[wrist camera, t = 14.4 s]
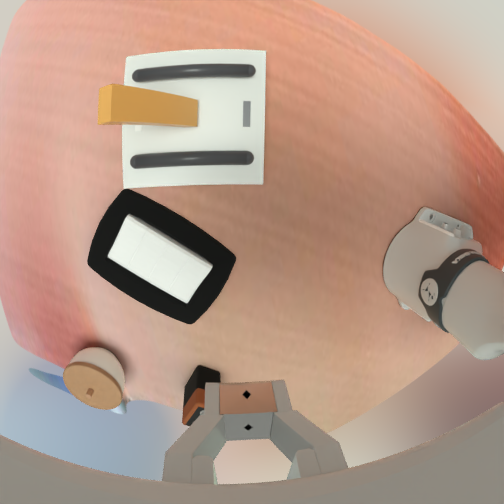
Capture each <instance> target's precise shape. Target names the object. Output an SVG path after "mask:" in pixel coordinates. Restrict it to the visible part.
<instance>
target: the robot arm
mask: <svg viewBox="0 0 504 504" xmlns="http://www.w3.org/2000/svg"><path fill="white" fill-rule="evenodd" d="M383 276H384V281H385V284H386V287H387V288H388V290H389V291H390V292H391V293H392V294H393V295H395V296H396V297H397V298H398V301H399V304H400V306H401V307H402V308H403V309H405V310H408V309H411V310H413V311H414V312H415V313H417V314H418V315H419V316H421V317H422V318H424V319H425V320H426V321H429V322H430V321H433V322H434V324H435V325H436V326H437V327H439V328H440V329H442V330H443V331H445V332H447V333H450V334H452V335H453V336H454V337H455V338H456V339H457V340H458V341H459V342H460V343H461V344H462V345H463V346H464V347H465V348H466V349H467V350H468V351H469V352H470V353H471V354H472V355H473V356H474V357H475V358H477V359H480V360H489V359H493V358H496V357H498V356H500V355H502V354H503V353H504V272H503V271H501V270H499V269H497V268H495V267H494V266H492V265H490V264H489V262H488V261H487V260H486V259H485V257H484V256H483V255H482V246H481V244H480V243H479V242H478V241H476V240H474V239H473V231H472V227H471V226H470V225H469V224H467V223H465V222H462V221H460V220H458V219H455V218H453V217H450V216H448V215H446V214H443V213H441V212H438V211H436V210H433V209H431V208H428V207H423V208H421V209H420V211H419V212H418V214H417V215H416V217H415V218H414V220H413V221H412V222H411V223H409V224H408V225H407V226H405V227H404V228H403V229H402V230H401V231H400V232H399V233H398V234H397V235H396V237H395V238H394V239H393V241H392V243H391V244H390V246H389V248H388V251H387V253H386V256H385V260H384V267H383ZM248 439H270V440H271V441H272V442H273V443H274V444H275V445H276V446H277V448H278V449H279V450H280V451H281V452H282V453H283V454H284V455H285V456H286V457H287V458H288V459H289V460H290V461H291V462H292V465H291V468H290V471H289V474H288V477H287V480H282V481H274V482H262V483H248V484H217V478H216V473H215V467H214V462H213V461H214V459H215V458H216V456H217V455H218V453H219V452H220V450H221V449H222V447H223V446H224V444H225V443H226V441H229V440H248ZM0 504H504V402H501V403H499V404H497V405H495V406H494V407H492V408H491V409H489V410H487V411H486V412H484V413H482V414H481V415H479V416H477V417H475V418H474V419H472V420H470V421H469V422H467V423H465V424H463V425H461V426H459V427H457V428H455V429H453V430H451V431H449V432H447V433H445V434H443V435H441V436H439V437H436V438H434V439H432V440H430V441H427V442H425V443H423V444H420V445H418V446H416V447H413V448H411V449H408V450H405V451H403V452H400V453H397V454H394V455H392V456H389V457H386V458H382V459H379V460H377V461H373V462H370V463H367V464H363V465H359V466H355V467H351V468H348V466H347V463H346V461H345V458H344V456H343V452H342V450H341V447H340V444H339V442H338V441H336V440H335V439H333V438H332V437H330V436H329V435H328V434H327V433H325V432H324V431H323V430H321V429H320V428H319V427H317V426H316V425H315V424H313V423H312V422H311V421H309V420H308V419H307V418H306V417H304V416H303V415H302V414H300V413H299V412H298V411H297V410H294V411H293V410H292V406H291V403H290V399H289V395H288V391H287V387H286V384H285V381H284V380H274V381H259V382H245V383H206V385H205V407H204V415H200V416H199V417H198V418H197V419H196V420H195V421H194V423H193V424H192V425H191V426H190V427H189V428H188V429H187V430H186V431H185V433H183V434H182V436H181V437H180V438H179V439H178V440H177V441H176V442H175V443H174V444H173V445H172V446H171V447H170V448H169V449H168V450H167V451H166V453H165V460H164V469H163V479H162V481H155V480H147V479H140V478H134V477H128V476H123V475H118V474H113V473H108V472H103V471H99V470H95V469H91V468H87V467H84V466H80V465H77V464H73V463H70V462H67V461H64V460H60V459H57V458H55V457H52V456H49V455H46V454H43V453H41V452H38V451H36V450H33V449H30V448H28V447H26V446H23V445H21V444H19V443H17V442H15V441H12V440H10V439H8V438H6V437H4V436H2V435H0Z"/></svg>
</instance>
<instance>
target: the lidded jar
mask: <svg viewBox="0 0 504 504" xmlns="http://www.w3.org/2000/svg"><path fill="white" fill-rule="evenodd" d="M63 379H64V383H65V385H66V387H67V388H68V390H69V391H70V392H71V393H72V394H73V395H74V396H75V397H76V398H77V399H79V400H80V401H81V402H83V403H85V404H87V405H89V406H91V407H94V408H98V409H105V410H108V409H113V408H116V407H117V406H119V405H120V403H121V401H122V396H123V391H124V385H125V376H124V371H123V368H122V366H121V364H120V363H119V361H118V360H117V358H116V357H115V355H114V354H113V353H111V352H110V351H109V350H107V349H104V348H101V347H90V348H86V349H83V350H81V351H79V352H78V353H77V354H76V355H75V356H74V357H73V358H72V359H71V361H70V362H69V364H68V366H67V367H66V368H65V370H64V373H63Z"/></svg>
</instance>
